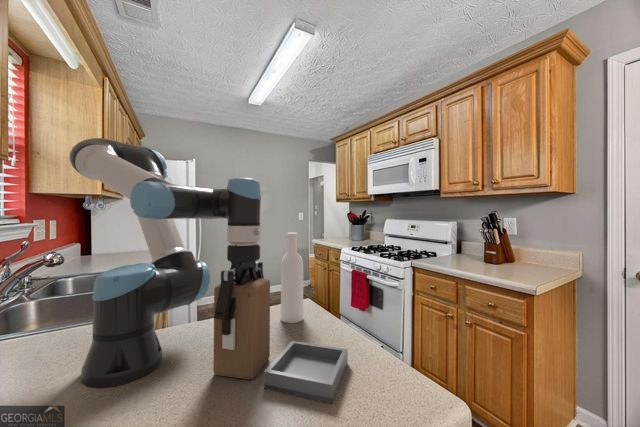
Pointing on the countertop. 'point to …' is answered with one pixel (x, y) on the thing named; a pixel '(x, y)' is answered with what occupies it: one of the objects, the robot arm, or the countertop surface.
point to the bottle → (292, 282)
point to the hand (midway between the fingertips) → (243, 337)
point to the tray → (307, 371)
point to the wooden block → (245, 331)
